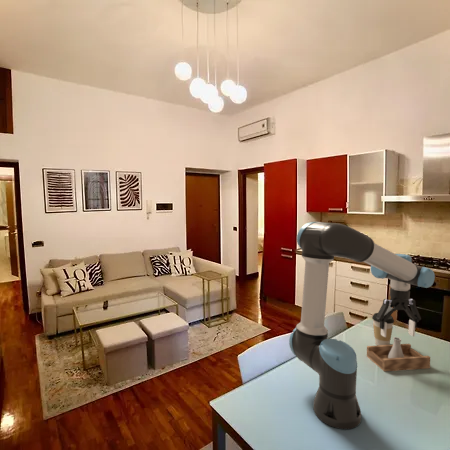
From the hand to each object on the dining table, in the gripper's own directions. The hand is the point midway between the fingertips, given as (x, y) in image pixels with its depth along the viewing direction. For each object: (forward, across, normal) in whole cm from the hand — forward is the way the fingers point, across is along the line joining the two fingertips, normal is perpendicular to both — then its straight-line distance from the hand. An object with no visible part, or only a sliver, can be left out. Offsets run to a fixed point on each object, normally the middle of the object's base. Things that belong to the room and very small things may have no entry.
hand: (397, 335), depth 128 cm
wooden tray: (+12, +1, 0) cm, 13 cm away
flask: (+12, +1, +1) cm, 12 cm away
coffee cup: (+12, +5, +16) cm, 21 cm away
